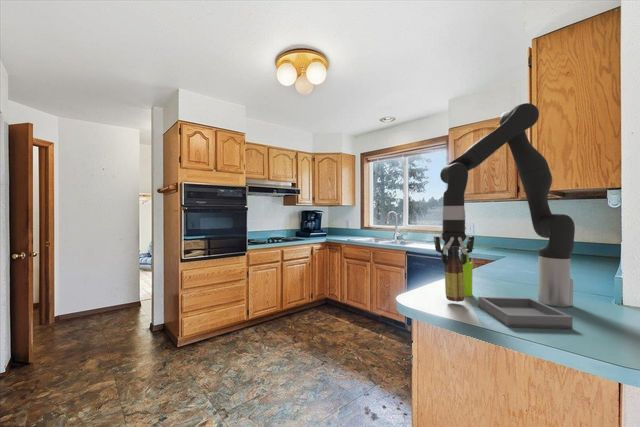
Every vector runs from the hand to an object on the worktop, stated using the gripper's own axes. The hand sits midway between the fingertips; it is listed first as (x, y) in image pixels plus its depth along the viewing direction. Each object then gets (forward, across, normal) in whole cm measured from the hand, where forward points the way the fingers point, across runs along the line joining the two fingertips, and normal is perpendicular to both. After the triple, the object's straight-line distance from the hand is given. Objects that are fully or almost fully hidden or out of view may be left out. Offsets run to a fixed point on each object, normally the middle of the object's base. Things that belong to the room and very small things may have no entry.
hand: (453, 264), depth 104 cm
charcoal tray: (+15, -17, +11) cm, 25 cm away
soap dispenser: (+15, -10, -13) cm, 22 cm away
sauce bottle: (+13, 0, 0) cm, 13 cm away
